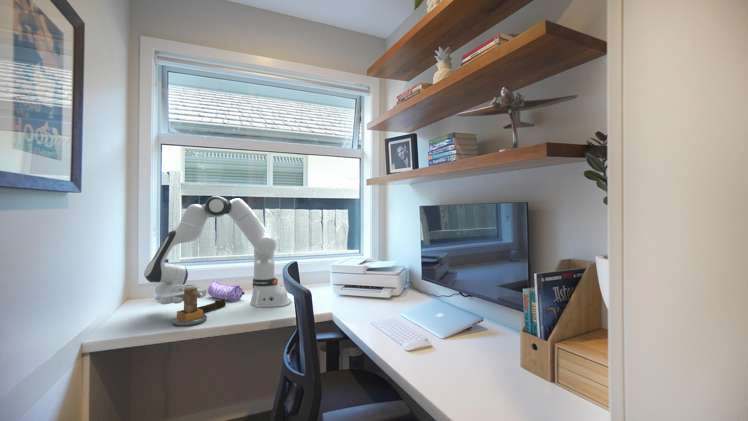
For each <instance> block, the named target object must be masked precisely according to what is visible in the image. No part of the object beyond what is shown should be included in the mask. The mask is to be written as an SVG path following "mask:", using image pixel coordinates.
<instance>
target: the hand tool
mask: <svg viewBox="0 0 748 421" xmlns="http://www.w3.org/2000/svg"><path fill="white" fill-rule="evenodd" d="M226 303H227V302H226V300H224V299H220V298H219V299H217V300H215V301H214V302H212V303H209V304H205V305H201V306H197V308H198V309H201V310H203V314H204V313H205V312H209V311H213V310H220V309H222V308H224V307H225V306H226Z"/></svg>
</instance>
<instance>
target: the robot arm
mask: <svg viewBox="0 0 748 421" xmlns="http://www.w3.org/2000/svg"><path fill="white" fill-rule="evenodd" d="M224 215H228V216H229V217H230V218H231V219H232V220H233V222H234V223H235V224H236V226H237V227H238V228H239V229H240V231H241V232H242V234H243V235H244V236H245V237H246V238H247V240H248V242H250V244H251V245H252V246H253V277H252V294H251V300H250V303H249V304H250V306H254V307H255V308H270V307H272V308H274V307H286V306H288V305H290V304H291V303H292V299H291V298H290V297H288V291H287V290H286V289H285V288H283V287H282V286H280V285H279V284H278V281H279V279H278V277H277V278H276V277H275V250H276V247H277V243H276V240H275V239H274V237H273V236H272V234H271V232H269V231H268V230H267V228H266V227H265V225H264V224H263V223H262V222H261V220H260V219H259V217H258V216H257V215H256V213H255V212H254V211H253V210H252V208H251V207H250V206H249V204H247V203H246V202H245V201H244V200H243V199H242V198H239V197H238V198H233V199H226V198H224V197H222V196H220V195H213V196H210V197H208V198H207V200H206V201H205V203H204V204H198V203H195V204H194V203H193V204H190V205H188V207H186V209H185V211H184V212H183V215H182V217H181V219H180V222H179V224H178V226H177V227H176V228H174V230H171V231H169V232H168V233H167V235H166V236H165V238H163V241H162V242H161V244H160V245H159V248H158V250H157V251H156V252H155V254H154V256H153V257H152V259H151V261H149V263H148V265H147V266H146V268H145V269H144V275H143V276H144V277H145V279H146V280H147V281H148V283H156V286H155V288H154V292H155V295H156V296H157V297H154V299H155V301H158V303H159V304H160V305H164V306H165V305H168V304H180V303H182V302H183V303H184V288H190V287H195V288H197V299H202V298H203V297H207V292H208V291H207V289H206V288H205V287H202V286H197V284H186V282H187V280H188V277H189V272H188V270H187V268H186V266H185V265H183V264H176V263H169V262H168V263H167V262H166V259H167V257H168V256H169V253H170V252H171V250H172V249H173V247H176V245H178V244H179V245H180V244H184V243H190V242H193V241H196V240H198V239H199V238H200V237H201V234H202V233H203V229H204V227H205V223H206V221H207V220H208V219H209V218H221V217H222V216H224Z"/></svg>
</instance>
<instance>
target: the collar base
mask: <svg viewBox="0 0 748 421" xmlns="http://www.w3.org/2000/svg"><path fill="white" fill-rule="evenodd" d="M207 319H208V316H207V315H206V314H204V313H203V310H201V309H198V308H197V311H195V312H191V313H184V309H182V310H177V311H176V317H175V318H173V319H172V321H171V322H172V323H171V324H172V326H174V327H178V328H179V327H182V328H185V327H187V328H188V327H192V326H198V325H202V324H203V323H205V322H206V321H207Z"/></svg>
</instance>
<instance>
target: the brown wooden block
mask: <svg viewBox="0 0 748 421" xmlns="http://www.w3.org/2000/svg"><path fill="white" fill-rule="evenodd" d="M197 307H198V298H197V288H195V287H190V288H184V301H183V310H184V313H191V312H195V311H197Z"/></svg>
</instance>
